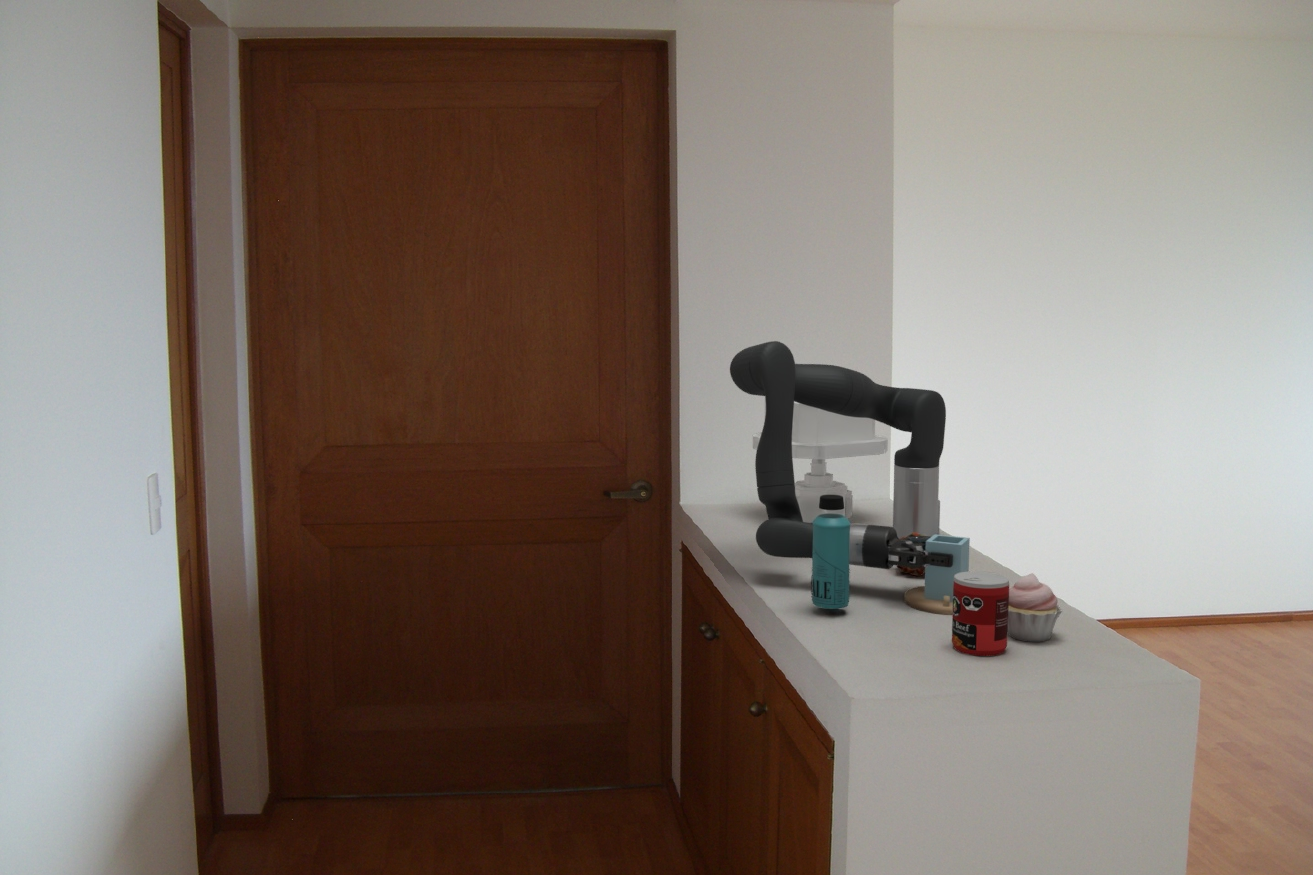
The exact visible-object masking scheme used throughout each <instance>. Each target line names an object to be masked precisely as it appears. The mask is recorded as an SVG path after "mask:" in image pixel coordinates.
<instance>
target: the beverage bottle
mask: <svg viewBox="0 0 1313 875" xmlns="http://www.w3.org/2000/svg"><path fill="white" fill-rule="evenodd" d="M819 508H820V509H824V510H842V509H844V500H843V496H840V495H822V496H820V502H819ZM850 524H851V522H850V520H849V519H847V518H846V517H845V516H843V515H841V514H833V513H828V514H820V515H819V516H817V517H816V518H815V519H814V520H813V545H812V546H813V552H812V553H813V555H812V558H811V561H812V563H811V564H812V565H811V577H810V578H811V579H810V580H811V581H810V584H811V586H810V593H811V596H810V597H811V599H810V600H811V602H812V604H813V606H815V607H818V608H822V609H830V610H832V609H833V610H836V609H837V610H839V609H844V608H847V607H848V606H849V604H850V600H851V596H850V595H851V593H850V586H851V580H850V574H851V572H850V571H851V568H850V563H849V543H850Z"/></svg>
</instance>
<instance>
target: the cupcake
mask: <svg viewBox="0 0 1313 875" xmlns="http://www.w3.org/2000/svg"><path fill="white" fill-rule="evenodd" d="M1058 603H1059V602H1058V598H1057V596H1056V594H1055V593H1054V591H1053V589H1051V587H1050V586H1049V585H1047V584H1045V583H1043V582H1041V581H1039V578H1038V577H1037V576H1036V575H1035V573H1034V572H1032V573H1029V574H1027V575H1023V576H1022V577H1020V578H1019V579H1017V581H1015V582H1014V585H1013V586H1011V587H1009V609H1008V632H1007V635H1008V636H1009V637H1010V638H1013V639H1016V640H1019V641H1023V642H1030V643H1031V642H1033V643H1036V642H1037V643H1038V642H1046V641H1048V640H1050V638H1051V637H1052V634H1053V632H1054V628H1055V624H1056V622H1057V619H1058V618H1059V617H1060V615H1061V614H1062V612H1063V609H1061V605H1058Z"/></svg>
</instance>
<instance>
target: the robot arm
mask: <svg viewBox="0 0 1313 875" xmlns="http://www.w3.org/2000/svg"><path fill="white" fill-rule="evenodd" d="M729 374H730V378H731V379H732V381H733V383H734V384H735V386H736V387H737V388H738V389H739V390H741V391H742V392H744V393H746V394H748V395H751V396H759V397H761V396H762V397H764V401H765V400H766V416H765V415H764V422H763V428H762V434H761V437H760V440H759V444H758V447H757V450H756V454H755V462H754V463H755V464H754V466H755V467H754V470H755V479H756V480H755V481H756V488H757V489H756V490H757V496H758V500H759V501H760V503H761V504H763V505H764V506H765V509H766V514H767V519H766V520H764V521H763V522H762V523H761V524H760V525H759V526H758V528H757V530H756V533H755V540H756V544H757V546H758V547H759V548H758V549H760V550H761V551H762V552H763V553H765V554H767V555H769V556H771V557H777V558H791V559H792V558H793V559H795V558H797V559H812V555H813V553H812V552H813V546H812V545H813V523H808V522H803V519H802V515H801V511H800V508H799V504H798V501H797V498H796V494H795V485H794V484H795V482H796V480H795V473H794V472H795V471H794V463H793V462H794V460H793V459H794V458H792V426H793V411H794V401H795V402H798V403H801V404H804V405H807V406H811V407H815V408H819V409H822V410H825V411H828V412H832V413H836V414H840V415H844V416H850V417H858V418H870V419H874V420H875V422H876V421H877V422H879V423H882V424H884V425H886V426H889V427H891V428H894V429H896V430H899V431H902V432H906V433H911V436H910V441H909V444H908V445H907V446H906V447H903V448H899V449H898V450H896V451H895V452H894V458H893V460H894V462H893V464H894V465H893V504H892V505H893V507H892V526H890V525H889V526H887V525H876V524H867V523H866V524H865V523H855V522H854V523H851V522H850V543H849V563H850V564H849V566H855V567H856V566H857V567H866V568H871V569H872V568H874V569H882V570H890V569H892V568H893V566H896V567H897V566H905V567H912V568H918V569H921V568H923V566H924V567H927V566H929V564H930V565H932V566H940V567H949V568H950V567H952V566H953V555H952V554H948V553H939V552H929V551H926V541H927V540H928V539H929V538H931V537H932V536H933V535H935V534H936V535H940V524H941V522H940V521H941V520H940V519H941V501H940V499H939V492H940V491H939V486H940V485H939V484H940V481H939V480H940V459H941V456H942V454H943V451H944V445H945V444H944V443H945V431H946V423H947V422H946V421H947V420H946V419H947V408H946V403H945V399H944V398H943V396H942V395H941V394H940V392H938V391H935V390H932V389H922V388H911V387H893V386H888V385H883V384H879V383H877V382H875V381H873V380H872V379H871V378H870V377H868V375H865V373H863V372H859V371H857V370H853V369H850V368H846V367H843V366H839V365H834V364H823V363H822V364H821V363H820V364H819V363H813V364H812V363H796V362H795V359H794V354H793V353H792V351H791V349H790V348H789V347H788V345H786V344H785V343H783V342H780V341H778V340H774V341H767V342H763V343H760V344H755V345H752V346H748V347H746V348H744V349H742V350H740V351H739V352H737V353H736V354H735V355H734V357H733V358H732V360H731V362H730V365H729ZM913 532H916V533H920V534H923V535H925V536H919V535H910V534H912V533H913ZM908 535H909V537H906V536H908ZM902 537H906V539H900V538H902Z"/></svg>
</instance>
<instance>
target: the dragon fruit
mask: <svg viewBox="0 0 1313 875" xmlns="http://www.w3.org/2000/svg"><path fill="white" fill-rule="evenodd" d="M910 535H919V536H925V535H923V534H920V533H916V532H913V533H912V534H910ZM906 537H909V535H908V536H906ZM906 537H902V538H900V539H906ZM896 569H898V570H899V571H900V572H901V573H904V574H905V573H906V574H907V573H908V574H910V575H912V576H916V577H921V576H922V575H924V574H925V567H924V566H923V568H921V569H918V568H912V567H905V566H897V565H896Z"/></svg>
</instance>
